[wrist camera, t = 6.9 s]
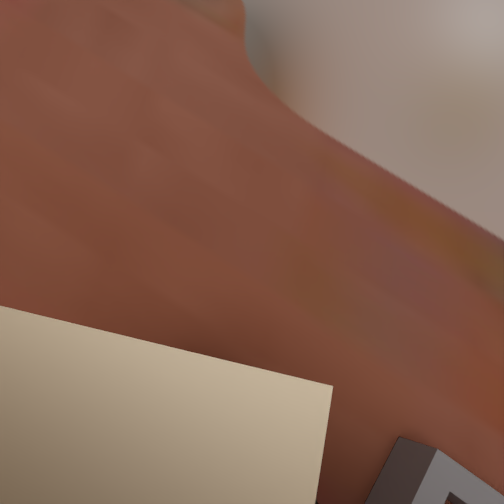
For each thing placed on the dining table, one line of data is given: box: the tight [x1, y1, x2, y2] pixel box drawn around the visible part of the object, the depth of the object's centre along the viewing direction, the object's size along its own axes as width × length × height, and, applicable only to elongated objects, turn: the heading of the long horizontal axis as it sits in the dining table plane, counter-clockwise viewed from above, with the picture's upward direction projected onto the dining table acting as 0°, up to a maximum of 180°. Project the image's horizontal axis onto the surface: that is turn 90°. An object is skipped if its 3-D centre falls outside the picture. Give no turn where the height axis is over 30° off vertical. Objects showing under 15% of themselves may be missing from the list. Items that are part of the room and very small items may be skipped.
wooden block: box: [0, 306, 333, 504], centre depth 10 cm, size 4×4×15 cm
